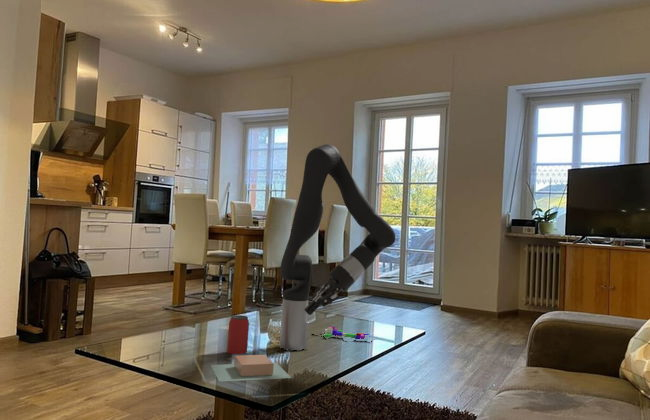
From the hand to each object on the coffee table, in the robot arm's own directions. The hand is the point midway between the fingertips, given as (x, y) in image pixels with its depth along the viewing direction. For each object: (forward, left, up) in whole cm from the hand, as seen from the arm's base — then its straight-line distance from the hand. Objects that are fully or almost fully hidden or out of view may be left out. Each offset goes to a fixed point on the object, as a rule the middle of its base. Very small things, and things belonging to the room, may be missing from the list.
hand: (307, 312), depth 142 cm
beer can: (+15, -23, -17) cm, 33 cm away
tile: (+11, 0, -15) cm, 18 cm away
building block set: (-35, -45, -18) cm, 59 cm away
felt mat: (+16, 0, -17) cm, 24 cm away
